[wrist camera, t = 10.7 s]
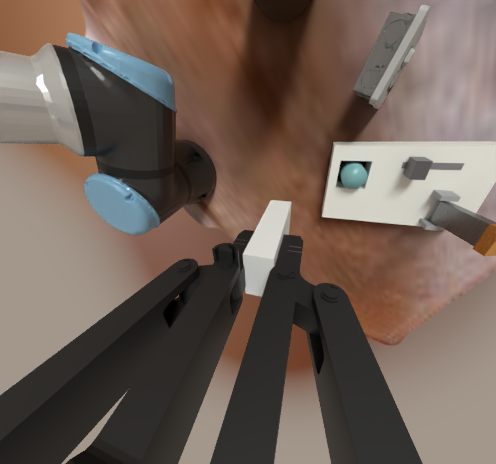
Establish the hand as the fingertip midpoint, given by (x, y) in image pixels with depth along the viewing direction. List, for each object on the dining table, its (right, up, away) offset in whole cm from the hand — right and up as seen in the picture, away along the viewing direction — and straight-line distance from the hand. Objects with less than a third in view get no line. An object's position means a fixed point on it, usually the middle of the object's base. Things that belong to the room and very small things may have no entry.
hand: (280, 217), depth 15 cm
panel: (+26, +9, +23) cm, 35 cm away
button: (+18, +11, +23) cm, 31 cm away
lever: (+30, +3, +19) cm, 35 cm away
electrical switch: (+18, +24, +16) cm, 34 cm away
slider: (+25, +10, +17) cm, 32 cm away
